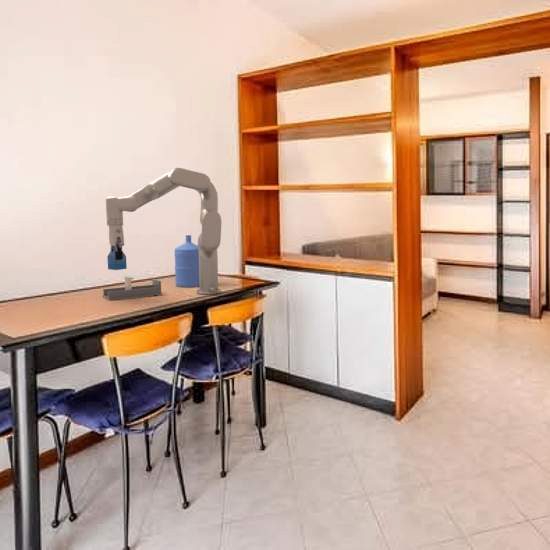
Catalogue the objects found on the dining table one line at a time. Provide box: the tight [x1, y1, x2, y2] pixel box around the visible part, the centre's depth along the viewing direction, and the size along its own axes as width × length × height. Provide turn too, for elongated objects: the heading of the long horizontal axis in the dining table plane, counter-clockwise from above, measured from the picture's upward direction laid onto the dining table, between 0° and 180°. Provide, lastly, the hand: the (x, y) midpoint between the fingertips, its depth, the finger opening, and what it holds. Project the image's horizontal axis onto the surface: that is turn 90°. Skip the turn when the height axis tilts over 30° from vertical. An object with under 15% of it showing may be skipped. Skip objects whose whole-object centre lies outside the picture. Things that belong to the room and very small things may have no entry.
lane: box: [102, 278, 163, 301], centre depth 258 cm, size 12×26×7 cm, turn 122°
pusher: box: [124, 275, 135, 290], centre depth 257 cm, size 7×2×8 cm, turn 32°
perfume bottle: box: [107, 246, 127, 271], centre depth 252 cm, size 6×6×12 cm
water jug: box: [174, 234, 200, 288], centre depth 289 cm, size 16×16×28 cm
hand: (116, 258), depth 252 cm, fingers closed on perfume bottle, 7 cm apart
